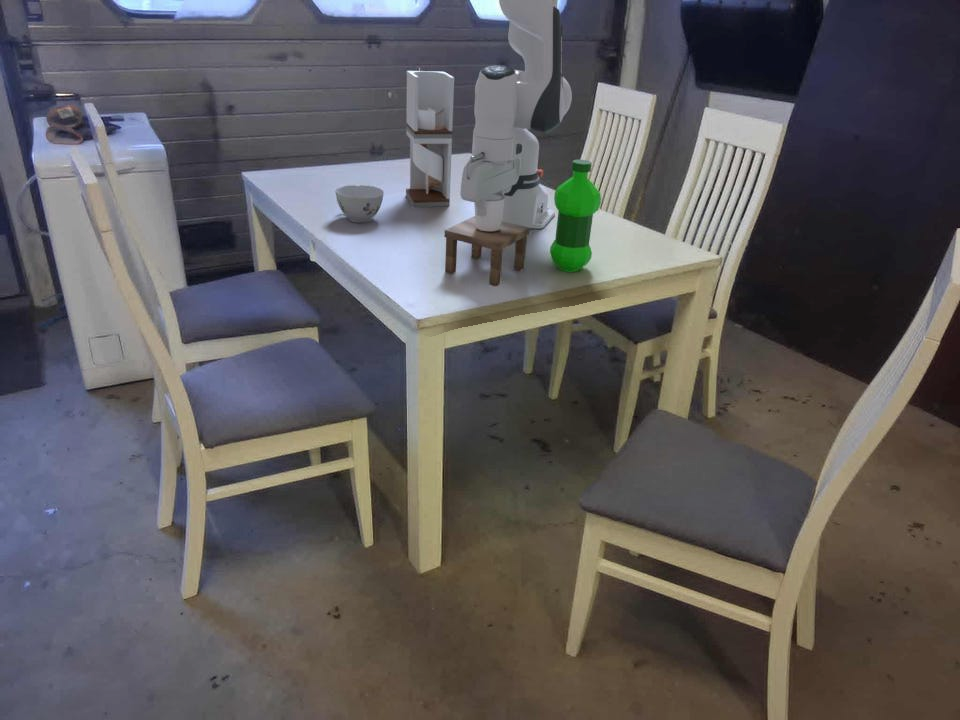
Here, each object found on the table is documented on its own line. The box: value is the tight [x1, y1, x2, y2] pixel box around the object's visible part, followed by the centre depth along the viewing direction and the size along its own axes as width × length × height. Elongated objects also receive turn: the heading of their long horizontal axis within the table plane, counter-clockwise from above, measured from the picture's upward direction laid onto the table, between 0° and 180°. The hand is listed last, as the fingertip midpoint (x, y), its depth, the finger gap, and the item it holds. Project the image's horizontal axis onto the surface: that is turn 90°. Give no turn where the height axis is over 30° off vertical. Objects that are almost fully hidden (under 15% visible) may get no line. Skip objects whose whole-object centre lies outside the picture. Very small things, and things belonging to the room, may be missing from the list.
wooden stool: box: [444, 215, 530, 287], centre depth 162 cm, size 14×14×10 cm
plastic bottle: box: [549, 159, 602, 273], centre depth 163 cm, size 10×10×25 cm
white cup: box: [473, 193, 505, 231], centre depth 158 cm, size 7×7×7 cm
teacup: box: [335, 184, 385, 223], centre depth 190 cm, size 15×12×8 cm
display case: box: [405, 70, 455, 208], centre depth 201 cm, size 11×11×35 cm
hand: (488, 212), depth 158 cm, fingers closed on white cup, 5 cm apart
